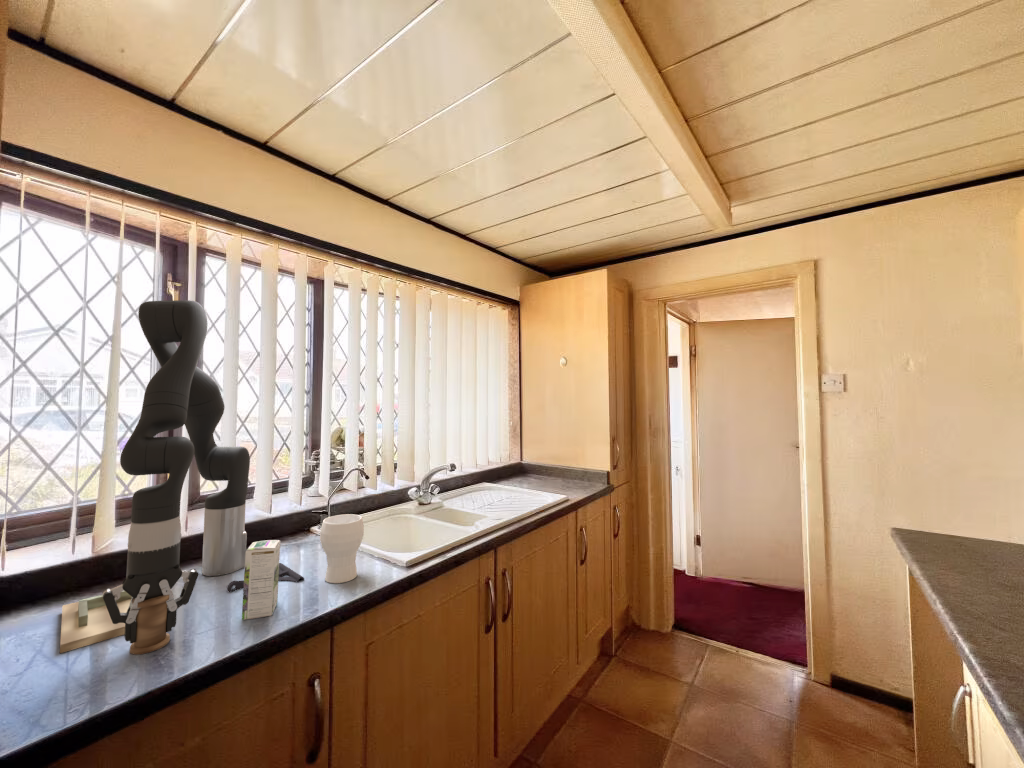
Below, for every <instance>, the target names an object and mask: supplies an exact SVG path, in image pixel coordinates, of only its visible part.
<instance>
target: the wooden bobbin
mask: <svg viewBox="0 0 1024 768" xmlns="http://www.w3.org/2000/svg"><path fill="white" fill-rule="evenodd" d="M167 600H169V595H167V596H164V595H163V596H159V597H155V598H151V599H147V600H144V601H143V602H141V603H139V602H138V605H137V608H140V610H139V611H138V613H137V616H136V619H135V620H136V622H137V623H136V642H134V643H131V644H130V645H129V653H130V654H131V655H145V654H149V653H151V652H152V653H153V652H154V651H157V650H159V649H161V648H164V647H165V646H166V645H168V644H170V643H169V642H170V641H171V635H170V633H169V632H166V629H167V609H168V606H167V603H166V601H167ZM134 601H135V599H133V600H132V603H134Z"/></svg>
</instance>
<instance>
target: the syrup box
mask: <svg viewBox="0 0 1024 768" xmlns="http://www.w3.org/2000/svg"><path fill="white" fill-rule="evenodd" d="M280 549H281V540H279V539H267V540H265V539H264V540H259V541H253V542H251V544H250V545H249V546H248V548H246V554H245V567H244V575H243V580H244V588H242V589H243V591H242V610H241V620H242V621H245V620H252V619H253V620H254V619H258V618H264V617H270V616H271V617H272V616H273V614H274V612H275V610H276V608H277V607H276V606H277V605H278V596H279V581H278V579H279V563H280V555H281V550H280Z"/></svg>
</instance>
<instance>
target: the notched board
mask: <svg viewBox="0 0 1024 768" xmlns="http://www.w3.org/2000/svg"><path fill="white" fill-rule="evenodd" d="M131 599H132V596H130V595H129V594H128V593H127V592H126V591H122V592H121V593H120V598H119V599H118V600H116V603H117V605H118V608H119V611H120V613H126V612H127V610H128V608H129V605H130V601H131ZM61 609H62V610H61V627H60V641H59V642H60V645H59V654H62V653H63V654H64V653H66V652H70V651H73V650H76V649H81V648H83V647H86V646H90V645H93V644H97V643H99V642H103V641H106V640H109V639H115V638H117V637H121V636H125V623H118V624H113V623H112V620H111V617H110V615H109V612H108V610H107V607H106V604H105V602H104V599H103V594H99V595H96V596H92V597H88V598H84V599H79V600H78V601H76V602H72V603H67V604H63V605H62V608H61Z"/></svg>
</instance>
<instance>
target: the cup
mask: <svg viewBox="0 0 1024 768" xmlns="http://www.w3.org/2000/svg"><path fill="white" fill-rule="evenodd" d="M364 525H365V524H364V521H363V517H362V515H359V514H353V513H350V514H349V513H347V514H346V513H345V514H337V515H332V516H329V517H325V518H324V519H323V520H322V525H321V528H320V530H319V540H320V544H321V547H322V549H323V552H324V553H325V555H326V562H327V563H326V564H327V567H326V571H325V577H324V580H325V581H326V582H327V583H329V584H341V583H346V582H349V581H352V580H355V578H356V577H357V576H358V571H357V563H356V558H357V553H358V550H359V548H360V546H361V544H362V541H363V540H364V539H363V538H364V535H365V534H364V533H365V532H364V531H365V526H364Z"/></svg>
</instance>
